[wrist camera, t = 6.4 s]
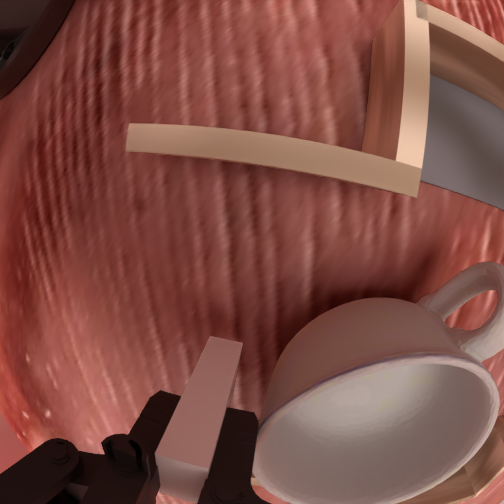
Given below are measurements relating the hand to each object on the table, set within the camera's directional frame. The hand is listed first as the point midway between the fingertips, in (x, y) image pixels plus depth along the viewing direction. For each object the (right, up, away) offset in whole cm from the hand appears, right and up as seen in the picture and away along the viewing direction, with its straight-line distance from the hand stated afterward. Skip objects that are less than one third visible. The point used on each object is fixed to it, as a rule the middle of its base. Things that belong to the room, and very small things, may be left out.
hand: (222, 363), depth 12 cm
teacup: (+8, 0, +3) cm, 9 cm away
